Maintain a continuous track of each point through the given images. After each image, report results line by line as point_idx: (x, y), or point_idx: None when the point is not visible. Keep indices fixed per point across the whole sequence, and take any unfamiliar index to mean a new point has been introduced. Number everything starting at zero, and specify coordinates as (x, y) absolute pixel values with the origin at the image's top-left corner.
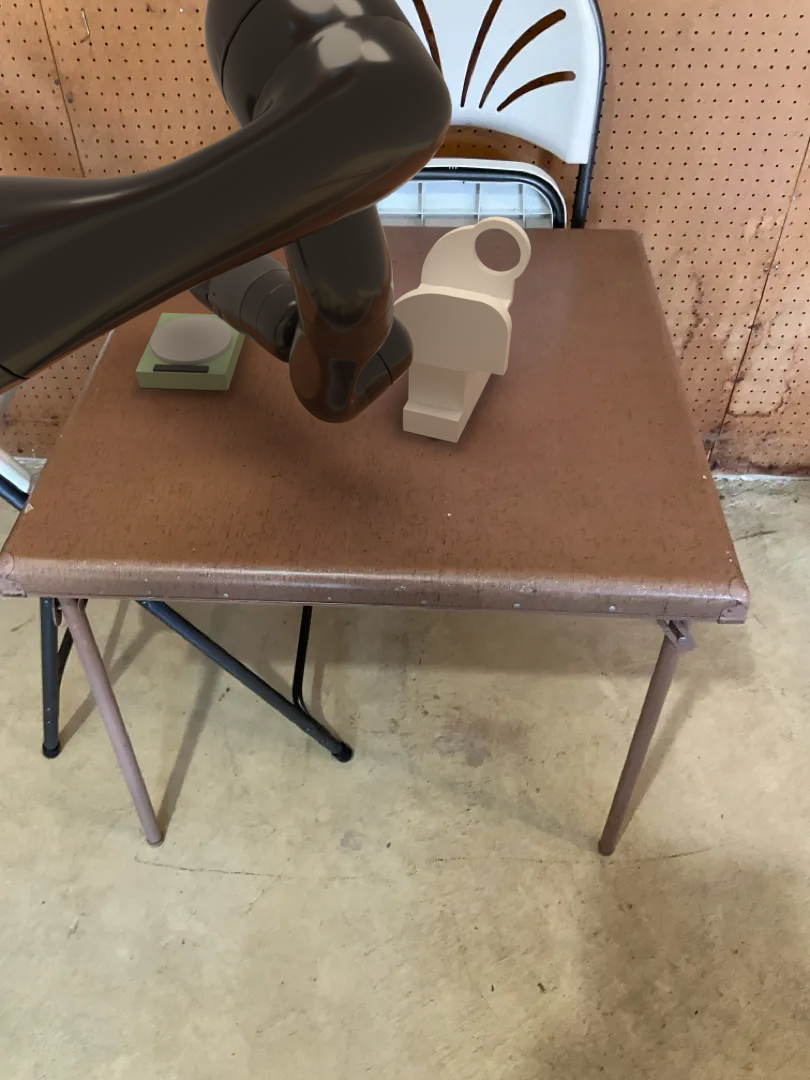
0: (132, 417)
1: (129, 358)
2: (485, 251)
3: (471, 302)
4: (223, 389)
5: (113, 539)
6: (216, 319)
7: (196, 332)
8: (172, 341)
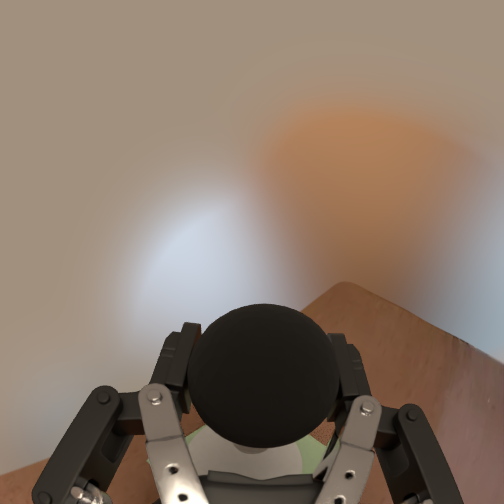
0: (110, 494)
1: (183, 417)
2: None
3: None
4: None
5: None
6: (297, 449)
7: (257, 458)
8: (218, 453)
